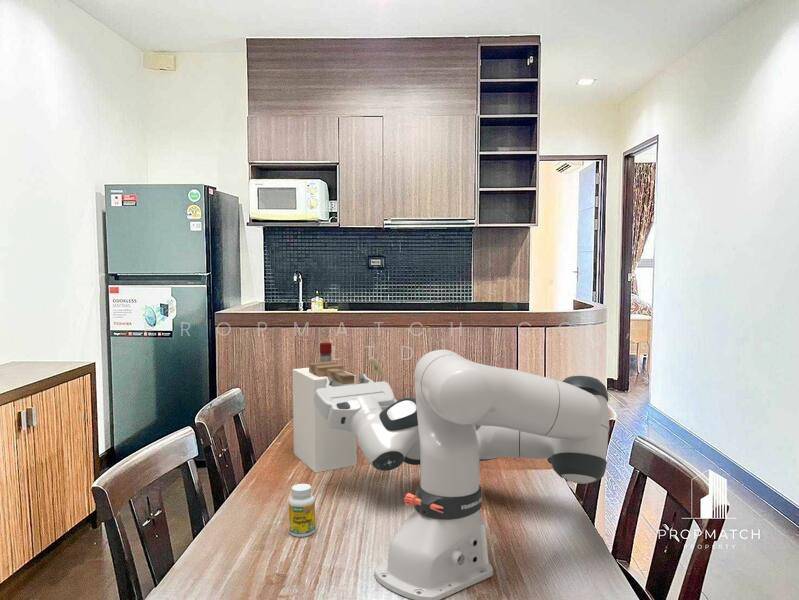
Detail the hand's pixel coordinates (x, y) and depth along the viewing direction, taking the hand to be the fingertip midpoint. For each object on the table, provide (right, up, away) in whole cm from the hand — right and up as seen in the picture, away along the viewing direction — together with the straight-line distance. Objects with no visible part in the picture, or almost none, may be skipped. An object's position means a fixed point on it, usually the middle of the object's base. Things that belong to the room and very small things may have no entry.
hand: (344, 377), depth 156 cm
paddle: (-3, -1, +6) cm, 7 cm away
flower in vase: (+6, -24, +40) cm, 47 cm away
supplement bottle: (-6, -28, -31) cm, 43 cm away
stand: (-7, -25, +14) cm, 30 cm away
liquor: (-9, -24, +37) cm, 45 cm away
